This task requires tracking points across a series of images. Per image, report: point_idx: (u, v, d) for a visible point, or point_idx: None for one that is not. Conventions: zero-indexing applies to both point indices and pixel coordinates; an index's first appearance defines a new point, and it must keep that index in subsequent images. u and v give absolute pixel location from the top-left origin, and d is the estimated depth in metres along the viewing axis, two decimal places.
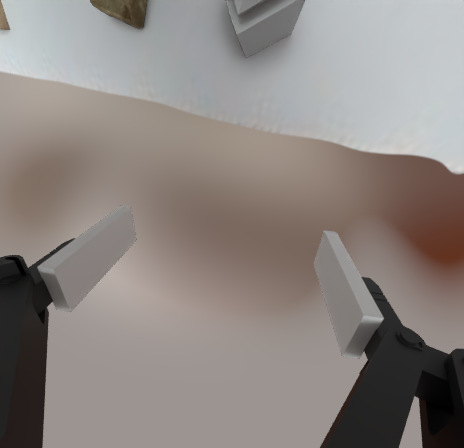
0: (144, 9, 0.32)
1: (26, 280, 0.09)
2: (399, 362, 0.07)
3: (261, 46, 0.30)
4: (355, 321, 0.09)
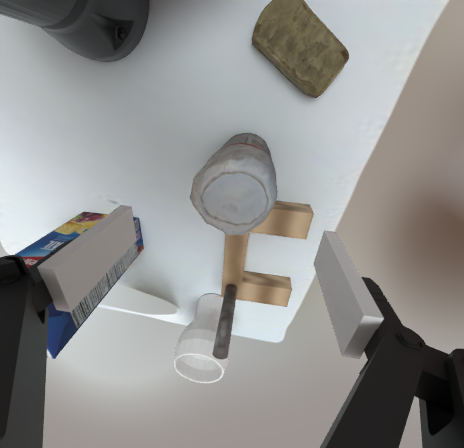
0: None
1: (26, 280, 0.09)
2: (399, 362, 0.07)
3: None
4: (355, 321, 0.09)
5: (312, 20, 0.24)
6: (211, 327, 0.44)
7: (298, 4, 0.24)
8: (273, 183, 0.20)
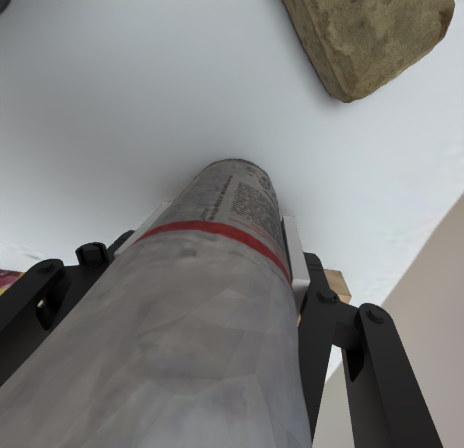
0: None
1: (105, 267, 0.10)
2: (321, 316, 0.09)
3: None
4: None
5: None
6: None
7: None
8: None
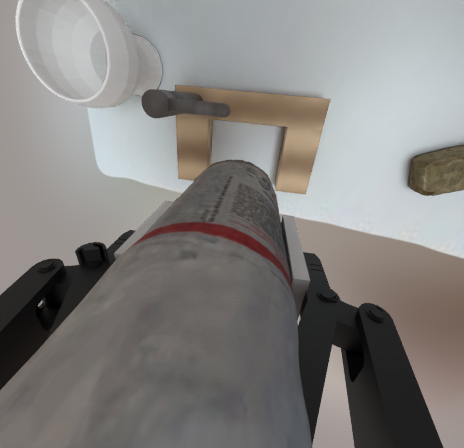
0: None
1: (105, 267, 0.10)
2: (320, 316, 0.09)
3: None
4: None
5: None
6: (139, 72, 0.27)
7: None
8: None
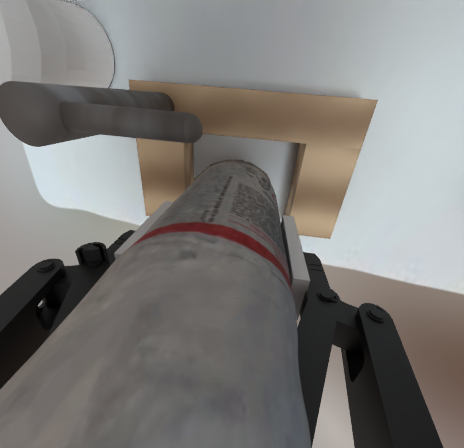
0: None
1: (105, 267, 0.10)
2: (320, 316, 0.09)
3: None
4: None
5: None
6: (49, 55, 0.15)
7: None
8: None
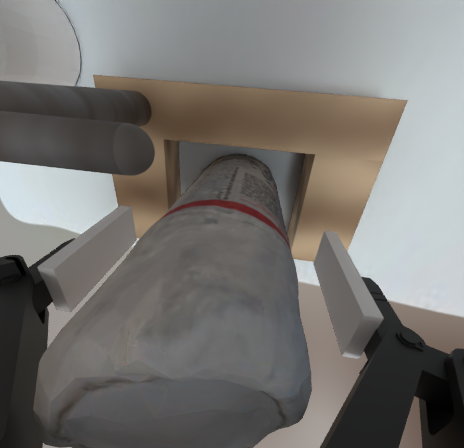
0: None
1: (26, 280, 0.09)
2: (399, 362, 0.07)
3: None
4: (355, 321, 0.09)
5: None
6: None
7: None
8: (303, 373, 0.06)
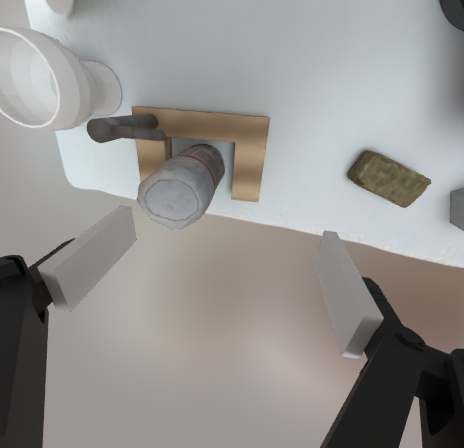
0: None
1: (26, 280, 0.09)
2: (399, 362, 0.07)
3: None
4: (355, 321, 0.09)
5: (387, 195, 0.38)
6: (93, 99, 0.30)
7: (397, 201, 0.38)
8: (201, 187, 0.25)
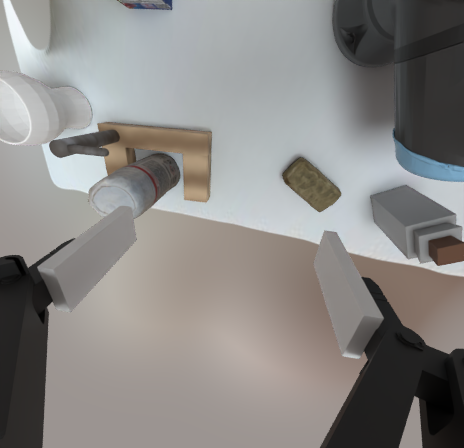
0: None
1: (26, 280, 0.09)
2: (399, 362, 0.07)
3: None
4: (355, 321, 0.09)
5: (307, 198, 0.45)
6: (61, 120, 0.38)
7: (314, 205, 0.45)
8: (136, 192, 0.33)
